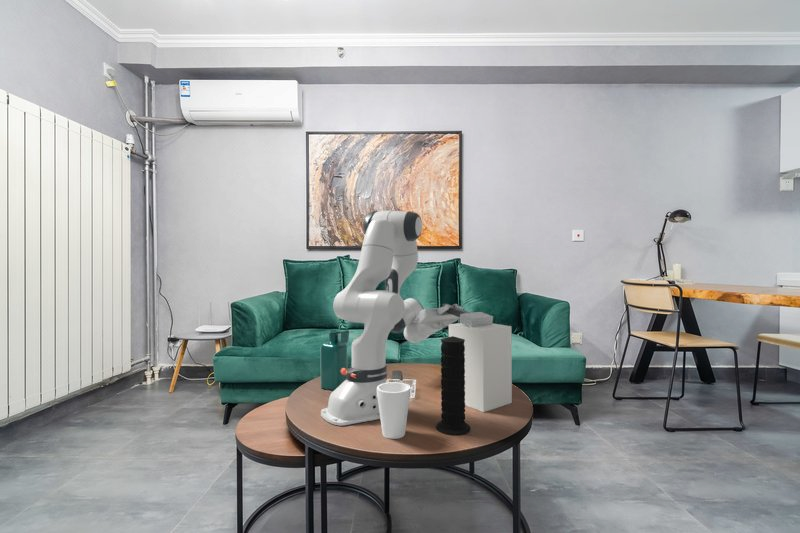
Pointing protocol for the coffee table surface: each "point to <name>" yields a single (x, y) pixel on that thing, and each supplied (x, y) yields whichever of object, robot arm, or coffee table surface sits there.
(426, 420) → the coffee table surface
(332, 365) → the green bottle
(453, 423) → the handle grip
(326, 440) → the coffee table surface
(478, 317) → the hammer
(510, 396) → the plinth
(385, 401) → the foam cup
